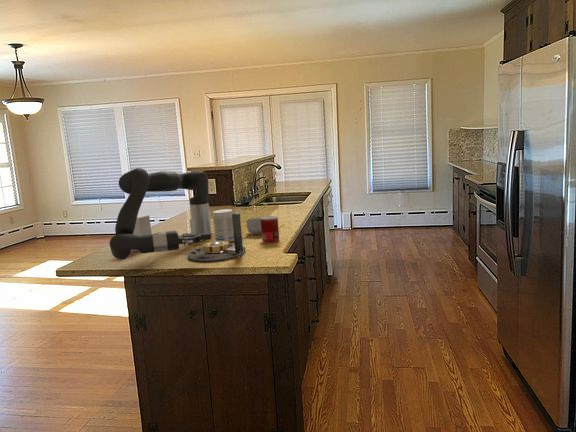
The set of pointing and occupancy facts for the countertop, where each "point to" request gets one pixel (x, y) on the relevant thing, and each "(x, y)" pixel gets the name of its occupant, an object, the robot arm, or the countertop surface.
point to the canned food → (270, 229)
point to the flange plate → (213, 254)
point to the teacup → (254, 225)
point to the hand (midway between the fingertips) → (210, 236)
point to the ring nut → (225, 244)
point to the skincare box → (142, 226)
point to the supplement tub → (223, 225)
